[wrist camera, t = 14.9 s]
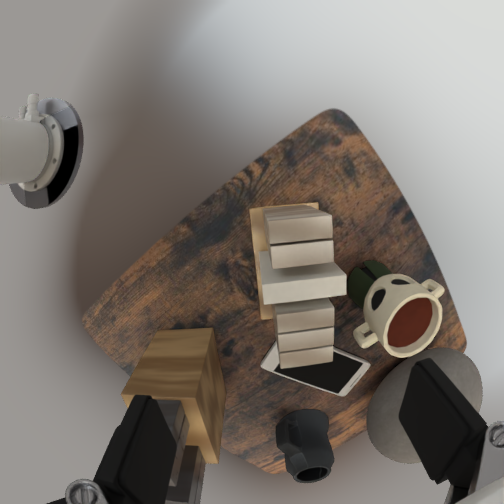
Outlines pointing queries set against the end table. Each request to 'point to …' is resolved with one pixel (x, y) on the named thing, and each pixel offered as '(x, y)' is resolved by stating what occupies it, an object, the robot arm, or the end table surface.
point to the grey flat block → (300, 281)
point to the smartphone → (322, 371)
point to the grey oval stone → (392, 392)
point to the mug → (305, 445)
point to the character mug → (395, 309)
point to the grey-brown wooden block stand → (292, 255)
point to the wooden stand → (185, 402)
